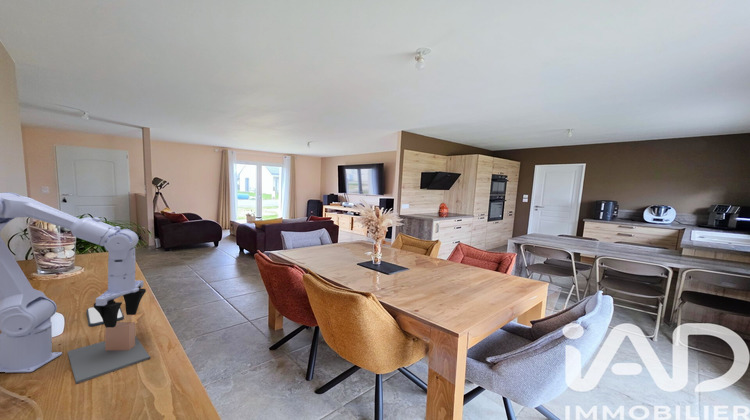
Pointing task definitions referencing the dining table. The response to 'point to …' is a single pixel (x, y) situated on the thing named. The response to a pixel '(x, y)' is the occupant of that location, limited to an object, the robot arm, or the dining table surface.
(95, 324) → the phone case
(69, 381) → the dining table surface
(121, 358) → the mat
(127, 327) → the tile
